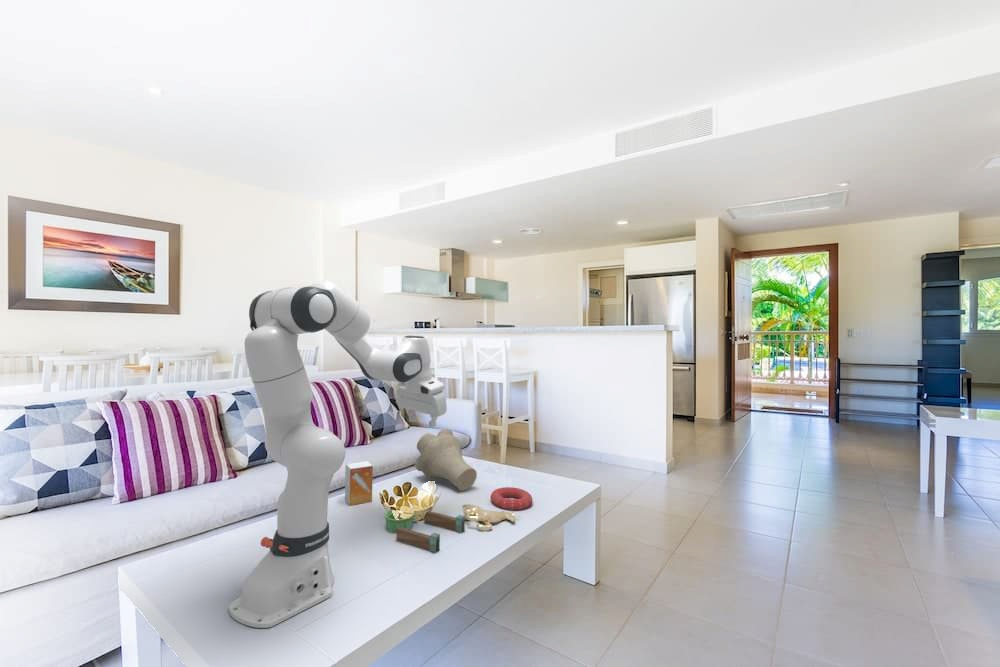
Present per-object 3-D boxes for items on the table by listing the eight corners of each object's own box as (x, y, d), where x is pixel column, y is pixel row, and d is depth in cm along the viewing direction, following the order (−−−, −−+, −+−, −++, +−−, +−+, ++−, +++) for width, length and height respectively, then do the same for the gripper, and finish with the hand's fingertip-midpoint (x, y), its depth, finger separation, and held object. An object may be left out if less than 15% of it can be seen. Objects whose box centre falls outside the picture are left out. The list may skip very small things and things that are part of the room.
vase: (503, 454, 173) (460, 422, 195) (456, 455, 157) (415, 420, 179) (485, 509, 175) (444, 471, 197) (437, 515, 159) (398, 473, 181)
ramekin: (384, 522, 143) (384, 508, 143) (413, 519, 145) (413, 506, 145) (385, 535, 134) (385, 521, 134) (415, 532, 137) (415, 518, 137)
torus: (540, 506, 159) (541, 496, 159) (509, 515, 151) (509, 505, 150) (512, 492, 172) (512, 482, 172) (482, 500, 163) (482, 490, 163)
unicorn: (444, 505, 148) (480, 495, 160) (443, 517, 147) (480, 506, 160) (488, 523, 134) (524, 510, 147) (487, 537, 134) (523, 523, 147)
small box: (349, 506, 155) (349, 468, 155) (344, 500, 160) (345, 464, 160) (372, 501, 159) (373, 465, 159) (367, 495, 165) (367, 460, 164)
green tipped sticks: (435, 553, 124) (435, 537, 124) (395, 541, 131) (396, 526, 131) (464, 530, 138) (464, 516, 138) (427, 520, 145) (427, 507, 144)
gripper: (390, 382, 150) (394, 421, 153) (434, 390, 138) (437, 432, 140) (404, 377, 155) (408, 415, 158) (448, 385, 143) (451, 426, 145)
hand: (422, 423), depth 149 cm, fingers open, 8 cm apart
